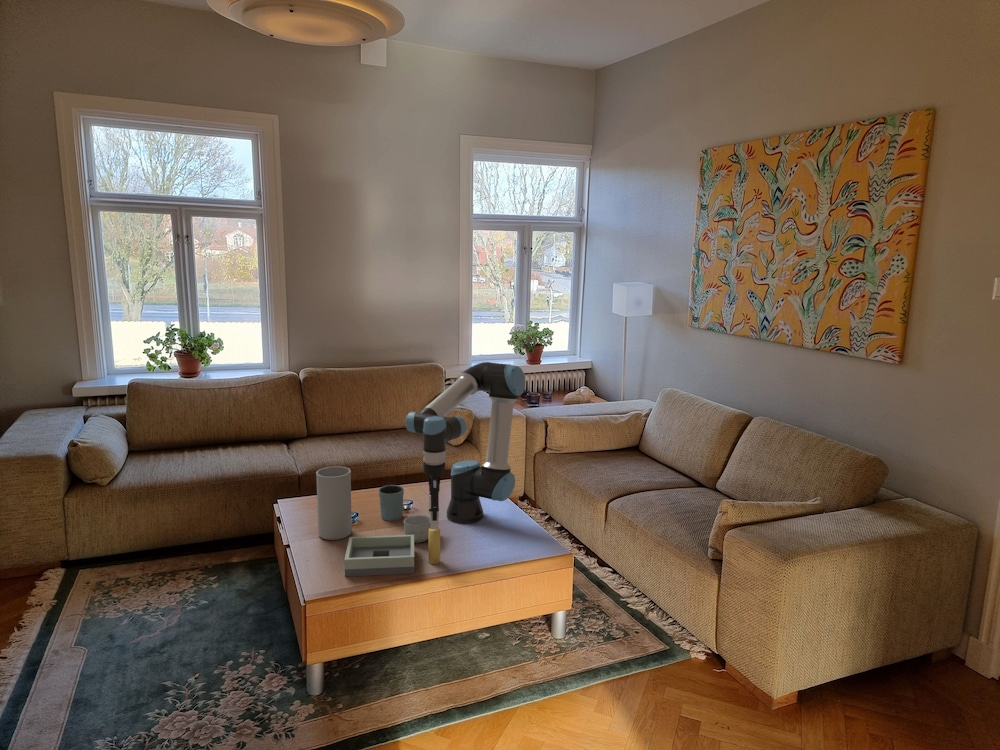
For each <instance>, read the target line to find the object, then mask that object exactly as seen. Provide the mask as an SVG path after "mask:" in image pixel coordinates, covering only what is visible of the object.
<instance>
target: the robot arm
mask: <svg viewBox="0 0 1000 750" xmlns="http://www.w3.org/2000/svg"><path fill="white" fill-rule="evenodd" d="M525 388H526V377H525V372H524V371H523V369H522V368H521V367H520V366H518V365H515V364H514V365H513V364H510V363H509V364H508V363H507V364H506V363H498V362H490V361H486V362H485V361H483V362H481V363H480V362H479V363H477V364H475V365H472V366H470V367H469V368H466V369H465V370H464V371H462V372H461V373H460V374H459V375H458V376H457V377H456V381H454V382H453V383H452V384H451V385H450V386H448V387H447V388H446V389H445V390H444V391H443V392H442V393H440V394H439V395H438V396H437V397H436V398H435V399H433V400H432V401H431V402H430V403H429V404H427V405H426V406H425V407H423V409H421V410H420V411H410V412H409V413H408V414H407V416H406V417H405V421H404V422H405V423H404V424H405V428H406V430H407V431H408V432H411V433H415V434H419V435H423V447H422V448H423V452H422V453H421V456H423V463H422V466H423V467H422V468H423V469H422V470H423V471H422V472H423V474H424V475H426V476H427V480H428V481H427V483H428V487H429V488H428V489H429V500H428V501H429V505H428V507H429V509H428V512H429V517H430V529H440V528H439V526H440V525H439V524H440V522H439V520H440V519H439V517H440V516H439V515H440V514H439V511H440V508H439V507H440V506H439V505H440V504H439V501H440V500H439V495H440V484H441V477H440V476H442V475H444V474H445V473H446V463H445V462H446V458H447V457H446V455H447V454H446V452H447V451H446V443H447V442H449V441H451V440H455V439H459V438H460V437H462V436H463V435H465V434H466V433H467V432H466V431H467V429H468V427H467V426H468V425H467V422H466V420H465V419H464V417H462V416H459V415H455V416H454V415H453V416H450V417H447V416H448V415H449V414H451V412H452V411H453V410H454V409H456V407H458V406H459V405H460V404H462V402H464V401H465V400H466V398H468V397H469V396H472V395H475V394H476V393H477V392H481V391H483V392H484V391H485V392H489V393H488V397H489V398H490V400H491V408H490V409H491V411H490V418H489V427H488V428H489V430H488V438H487V447H486V448H487V449H486V458H485V461H484V462H483V463H482V464H480V462H479V460H475V459H474V460H471V459H470V460H469V459H468V460H461V461H457V462H455V463H454V464H452V466H451V470H450V499H449V503H448V506H447V509H446V518H447V519H448V521H451V522H453V523H458V524H473V523H476V522H479V521H481V520H482V519H483V518H484V508H483V506H482V502H481V500H480V498H483V499H488V500H492V501H495V502H496V501H498V502H504V501H506V500H508V499H509V497H510V496H511V495H512V493H513V491H514V488H515V485H516V476H515V474H514V473H512V472H511V469H512V468H511V466H510V464H509V463H508V461H509V451H510V443H511V442H510V441H511V431H512V422H513V414H514V413H513V411H514V404H515V402H517V401H518V400H519V396H521V395H523V393H524V390H525ZM428 476H429V477H428Z"/></svg>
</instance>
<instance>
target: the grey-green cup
mask: <svg viewBox="0 0 1000 750" xmlns="http://www.w3.org/2000/svg"><path fill="white" fill-rule="evenodd" d="M404 491H405V489H404V487H403V486H401V485H397V484H390V485H389V484H388V485H384V486H381V487H380V488H378V495H379V505H380V506H379V509H380V518H381V519H382V520H383V521H388V522H392V521H398V520H401V519H402V517H403V505H404V493H405V492H404Z"/></svg>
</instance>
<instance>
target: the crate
mask: <svg viewBox="0 0 1000 750" xmlns="http://www.w3.org/2000/svg"><path fill="white" fill-rule="evenodd" d="M347 542H348V543H347V547H346V551H345V556H344V577H360V576H361V577H363V576H386V575H387V576H389V575H407V574H411V573H412V574H415V542H414V535H405V534H400V535H399V534H396V535H394V534H393V535H374V536H372V535H368V536H367V535H366V536H350V537H349V536H348V541H347Z"/></svg>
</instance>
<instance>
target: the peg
mask: <svg viewBox="0 0 1000 750" xmlns="http://www.w3.org/2000/svg"><path fill="white" fill-rule="evenodd" d="M440 562H441V529H440V528H439V529H429V538H428V564H429V565H438V564H440Z"/></svg>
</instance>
